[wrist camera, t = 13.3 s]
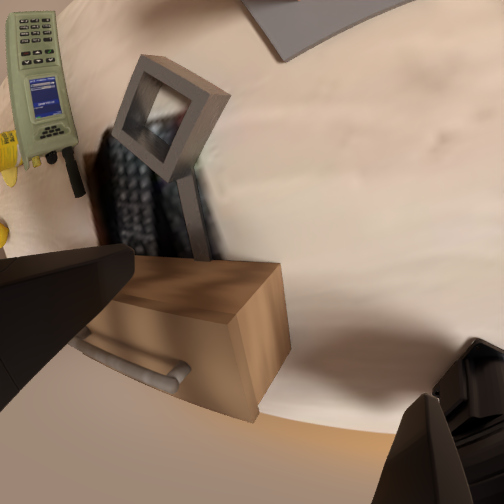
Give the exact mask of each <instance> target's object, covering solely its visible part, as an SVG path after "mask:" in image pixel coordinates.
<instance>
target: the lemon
mask: <svg viewBox="0 0 504 504" xmlns="http://www.w3.org/2000/svg"><path fill="white" fill-rule="evenodd" d="M8 232H9V229H8V228H6V227H5V226H4V225H3V224H1V223H0V248H1V247H3V246H4V245H5V243H6V241H7V235H8Z"/></svg>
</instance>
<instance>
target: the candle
mask: <svg viewBox="0 0 504 504" xmlns="http://www.w3.org/2000/svg"><path fill="white" fill-rule="evenodd" d="M3 133H5V132H3ZM1 173H2V176H3V178H4V181H5V182H6V184H7V185H8V186H10V187H13V186H14V185H15V183H16V179H17V166H16V167H13V168H10V169H7V170H4V171H1Z"/></svg>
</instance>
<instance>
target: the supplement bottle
mask: <svg viewBox="0 0 504 504" xmlns="http://www.w3.org/2000/svg"><path fill="white" fill-rule="evenodd" d="M20 165H23V161H22V158H21V154H20V149H19V145H18V140H17V135H16V130H13V131H9V132H5V133H1V134H0V172H1V171H4V170H7V169H10V168H13V167H16V166H20Z"/></svg>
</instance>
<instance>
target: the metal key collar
mask: <svg viewBox="0 0 504 504" xmlns="http://www.w3.org/2000/svg"><path fill="white" fill-rule="evenodd" d="M162 82H163V83H165V84H166V85H168V86H170V87H171V88H173V89H174V90H176V91H178V92H179V93H181V94H182V95H184V96H185V97H187V98H189V99H190V100H192V102H191V104H190V106H189V108H188V110H187V112H186V114H185V116H184V118H183V120H182V123H181V125H180V127H179V129H178V131H177V134H176V136H175V138H174V140H173V142H172V145H171V146H169V145H168V144H167V143H166V142H164V141H163V140H162V139H160V138H159V137H158V136H156V135H155V134H154V133H153V132H151V131H150V130H149V129H147V128H146V127H145V126H144V125H145V123H146V120H147V118H148V115H149V113H150V110H151V108H152V105H153V103H154V101H155V98H156V96H157V94H158V91H159V89H160V87H161V85H162ZM230 97H231V95H230V94H228V93H226V92H225V91H223V90H222V89H220V88H218V87H217V86H215V85H213V84H212V83H210V82H208V81H207V80H205V79H203V78H202V77H200V76H198V75H196V74H195V73H193V72H191V71H189V70H188V69H186V68H184V67H182V66H180V65H179V64H177V63H175V62H173V61H171V60H169V59H168V58H166V57H162V56H153V55H143V54H141V56H140V58H139V60H138V63H137V65H136V67H135V70H134V72H133V75H132V77H131V80H130V82H129V85H128V87H127V90H126V93H125V95H124V98H123V101H122V104H121V107H120V109H119V112H118V115H117V118H116V121H115V124H114V127H113V131H112V134H111V135H112V136H113V137H115V138H116V139H117V140H118V141H119V142H120V143H122V144H123V145H124V146H125V147H126V148H127V149H129V150H130V151H131V152H132V153H133V154H134V155H136V156H137V157H138V158H139V159H140V160H142V161H143V162H144V163H145V164H146V165H147V166H149V167H150V168H151V169H152V170H153V171H154V172H156V173H157V174H158V175H159V176H160V177H162V178H163V179H164V180H165V181H166V182H167V183H170V182H172V181H175V180H176V181H177V185H178V190H179V195H180V200H181V204H182V209H183V213H184V218H185V222H186V226H187V231H188V235H189V239H190V244H191V248H192V252H193V256H194V260H195V261H204V262H211V261H212V260H213V257H212V253H211V248H210V244H209V239H208V235H207V230H206V225H205V220H204V216H203V211H202V206H201V201H200V196H199V191H198V186H197V181H196V176H195V171H194V165H195V163H196V161H197V159H198V157H199V155H200V153H201V151H202V149H203V147H204V145H205V143H206V141H207V139H208V137H209V135H210V134H211V132H212V130H213V128H214V126H215V124H216V122H217V120H218V118H219V117H220V115H221V113H222V111H223V109H224V107H225V106H226V104H227V102H228V100H229V98H230Z"/></svg>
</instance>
